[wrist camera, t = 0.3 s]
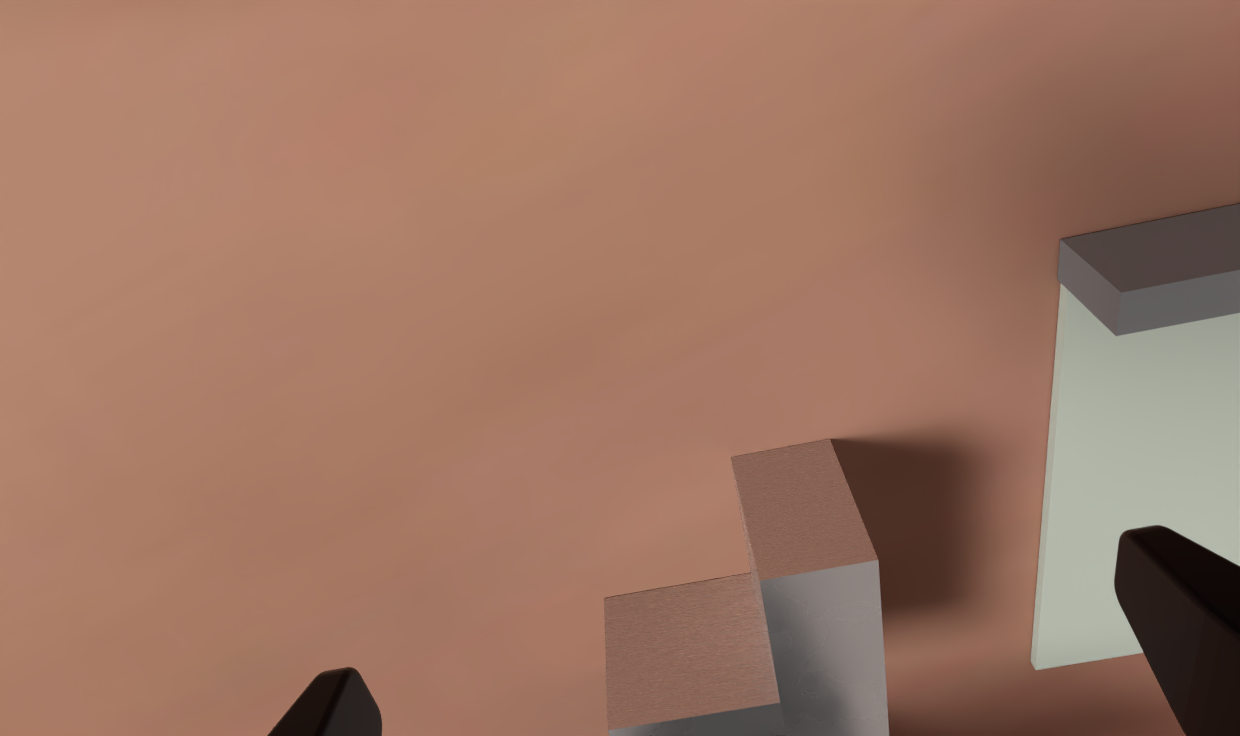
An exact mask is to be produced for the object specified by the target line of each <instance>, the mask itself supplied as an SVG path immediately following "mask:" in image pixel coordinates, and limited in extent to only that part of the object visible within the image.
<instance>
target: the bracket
mask: <svg viewBox="0 0 1240 736" xmlns="http://www.w3.org/2000/svg"><path fill="white" fill-rule="evenodd" d="M731 463H732V468H733V474H734V480H735V485H736V491H737V497H738V502H739V508H740V514H741V520H742V525H743V531H744V537H745V542H746V548H747V554H748V559H749V565H750V571H751V573H746V574H741V575H735V576H729V577H724V578H718V579H712V580H706V581H701V582H695V583H689V584H683V585H678V586H672V587H666V588H661V589H655V590H649V591H643V592H638V593H632V594H626V595H620V596H615V597H609V598H604V618H605V653H606V687H607V722H608V733H609V736H889V723H888V707H887V691H886V675H885V658H884V642H883V626H882V610H881V594H880V578H879V561H878V558H877V555H876V553H875V550H874V548H873V545H872V543H871V540H870V538H869V535H868V533H867V530H866V528H865V525H864V523H863V520H862V518H861V515H860V513H859V510H858V508H857V506H856V503H855V501H854V498H853V496H852V493H851V491H850V488H849V486H848V483H847V481H846V478H845V476H844V473H843V471H842V468H841V466H840V463H839V461H838V458H837V456H836V453H835V451H834V448H833V446H832V443H831V441H830V439H827V440H822V441H816V442H811V443H805V444H800V445H795V446H789V447H784V448H778V449H773V450H768V451H762V452H757V453H751V454H746V455H741V456H735V457H731Z"/></svg>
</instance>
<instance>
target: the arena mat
mask: <svg viewBox="0 0 1240 736" xmlns="http://www.w3.org/2000/svg"><path fill="white" fill-rule="evenodd" d="M1152 525H1161V526H1165V527H1167V528H1170V529H1172V530H1173V531H1175V532H1177V533H1179V534H1181V535H1183V536H1185V537H1186V538H1188V539H1190V540H1192V541H1194V542H1196V543H1198V544H1200V545H1201V546H1203V547H1205V548H1207V549H1209V550H1211V551H1213V552H1214V553H1216V554H1218V555H1220V556H1222V557H1224V558H1226V559H1227V560H1229V561H1231V562H1233V563H1235V564H1237V565H1239V566H1240V313H1236V314H1231V315H1226V316H1220V317H1215V318H1210V319H1205V320H1199V321H1194V322H1189V323H1184V324H1178V325H1173V326H1168V327H1162V328H1157V329H1152V330H1147V331H1141V332H1136V333H1131V334H1126V335H1120V336H1115V335H1114V334H1113V333H1112V332H1111V331H1110V330H1109V329H1108V328H1107V327H1106V326H1105V325H1104V324H1103V323H1102V322H1101V321H1100V320H1098V319H1097V318H1096V317H1095V316H1094V315H1093V314H1092V313H1091V312H1090V311H1089V310H1088V309H1087V308H1086V307H1085V306H1084V305H1083V304H1082V303H1081V302H1080V301H1079V300H1078V299H1077V298H1076V297H1075V296H1074V295H1073V294H1072V293H1071V292H1070V291H1069V290H1067V289H1066V288H1065V287H1064V286H1063V285H1062V284H1061V287H1060V299H1059V312H1058V324H1057V337H1056V349H1055V362H1054V374H1053V387H1052V399H1051V412H1050V425H1049V437H1048V450H1047V462H1046V475H1045V487H1044V500H1043V512H1042V525H1041V537H1040V550H1039V562H1038V575H1037V587H1036V600H1035V612H1034V625H1033V637H1032V650H1031V663H1032V665H1033V667H1034V668H1035V670H1040V669H1046V668H1052V667H1058V666H1065V665H1071V664H1077V663H1083V662H1089V661H1096V660H1102V659H1108V658H1114V657H1120V656H1127V655H1133V654H1139V653H1144V652H1143V650H1142V648H1141V646H1140V644H1139V642H1138V640H1137V638H1136V636H1135V634H1134V632H1133V630H1132V628H1131V626H1130V624H1129V622H1128V620H1127V618H1126V616H1125V614H1124V612H1123V610H1122V608H1121V606H1120V604H1119V602H1118V599H1117V596H1116V593H1115V588H1114V576H1115V568H1116V560H1117V552H1118V543H1119V538H1120V536H1121V534H1122V533H1123V532H1124V531H1126V530H1129V529H1135V528H1140V527H1146V526H1152Z"/></svg>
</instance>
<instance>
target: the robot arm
mask: <svg viewBox="0 0 1240 736" xmlns="http://www.w3.org/2000/svg"><path fill="white" fill-rule="evenodd" d="M1114 588H1115V593H1116V596H1117V599H1118V602H1119V604H1120V606H1121V608H1122V610H1123V612H1124V614H1125V616H1126V618H1127V620H1128V622H1129V624H1130V626H1131V628H1132V630H1133V632H1134V634H1135V636H1136V638H1137V640H1138V642H1139V644H1140V646H1141V648H1142V650H1143V652H1144V654H1145V656H1146V658H1147V660H1148V662H1149V664H1150V667H1151V669H1152V671H1153V673H1154V675H1155V677H1156V679H1157V681H1158V683H1159V685H1160V687H1161V689H1162V691H1163V693H1164V695H1165V697H1166V699H1167V701H1168V703H1169V705H1170V707H1171V709H1172V711H1173V712H1174V714H1175V716H1176V718H1177V720H1178V722H1179V724H1180V726H1181V728H1182V729H1183V731H1184V733H1185V734H1186V736H1240V566H1239V565H1237V564H1235V563H1233V562H1231V561H1229V560H1227V559H1226V558H1224V557H1222V556H1220V555H1218V554H1216V553H1214V552H1213V551H1211V550H1209V549H1207V548H1205V547H1203V546H1201V545H1200V544H1198V543H1196V542H1194V541H1192V540H1190V539H1188V538H1186V537H1185V536H1183V535H1181V534H1179V533H1177V532H1175V531H1173V530H1172V529H1170V528H1167V527H1165V526H1161V525H1152V526H1146V527H1140V528H1135V529H1129V530H1126V531H1124V532H1123V533H1122V534H1121V536H1120V538H1119V543H1118V552H1117V560H1116V568H1115V576H1114ZM267 736H382V719H381V714H380V710H379V708H378V706H377V704H376V702H375V700H374V698H373V697H372V695H371V693H370V691H369V690H368V688H367V686H366V684H365V682H364V681H363V679H362V677H361V675H360V674H359V672H358V671H357V670H356V669H354V668H352V667H346V668H340V669H335V670H329V671H324V672H322V673H320V674H319V675H318V676H316V677H315V679H314V680H313V681H312V682H311V683H310V684H309V686H308V687H307V688H306V689H305V691H304V692H303V693H302V694H301V695H300V697H299V698H298V699H297V700H296V701H295V703H294V704H293V705H292V706H291V707H290V709H289V710H288V711H287V712H286V714H285V715H284V716H283V717H282V718H281V720H280V721H279V722H278V723H277V724H276V726H275V727H274V728H273V729H272V731H271V732H270V733H269V734H268V735H267Z"/></svg>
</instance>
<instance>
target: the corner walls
mask: <svg viewBox="0 0 1240 736" xmlns="http://www.w3.org/2000/svg"><path fill="white" fill-rule="evenodd" d="M1057 280H1058V281H1059V282H1060V283H1061V284H1062V285H1063V286H1064V287H1065V288H1066V289H1067V290H1069V291H1070V292H1071V293H1072V294H1073V295H1074V296H1075V297H1076V298H1077V299H1078V300H1079V301H1080V302H1081V303H1082V304H1083V305H1084V306H1085V307H1086V308H1087V309H1088V310H1089V311H1090V312H1091V313H1092V314H1093V315H1094V316H1095V317H1096V318H1097V319H1098V320H1100V321H1101V322H1102V323H1103V324H1104V325H1105V326H1106V327H1107V328H1108V329H1109V330H1110V331H1111V332H1112V333H1113V334H1114V335H1115V336H1120V335H1126V334H1131V333H1136V332H1141V331H1147V330H1152V329H1157V328H1162V327H1168V326H1173V325H1178V324H1184V323H1189V322H1194V321H1199V320H1205V319H1210V318H1215V317H1220V316H1226V315H1231V314H1236V313H1240V204H1235V205H1230V206H1225V207H1220V208H1215V209H1210V210H1205V211H1200V212H1195V213H1190V214H1185V215H1180V216H1175V217H1170V218H1165V219H1160V220H1155V221H1150V222H1145V223H1140V224H1135V225H1130V226H1125V227H1120V228H1115V229H1110V230H1105V231H1100V232H1095V233H1090V234H1085V235H1080V236H1075V237H1070V238H1065V239H1060V252H1059V265H1058V277H1057Z"/></svg>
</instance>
